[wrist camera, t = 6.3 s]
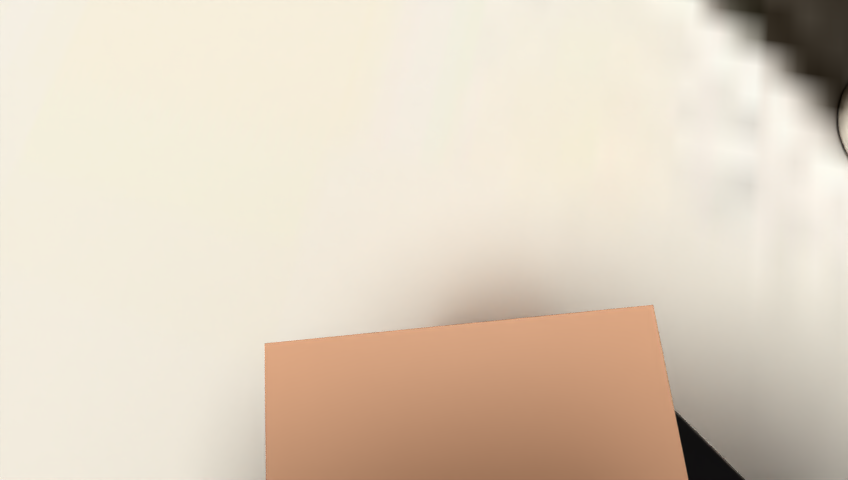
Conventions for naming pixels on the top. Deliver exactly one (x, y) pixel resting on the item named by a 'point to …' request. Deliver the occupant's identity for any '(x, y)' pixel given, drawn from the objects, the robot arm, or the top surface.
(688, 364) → the top surface
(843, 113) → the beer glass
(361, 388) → the terracotta block
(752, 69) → the top surface
